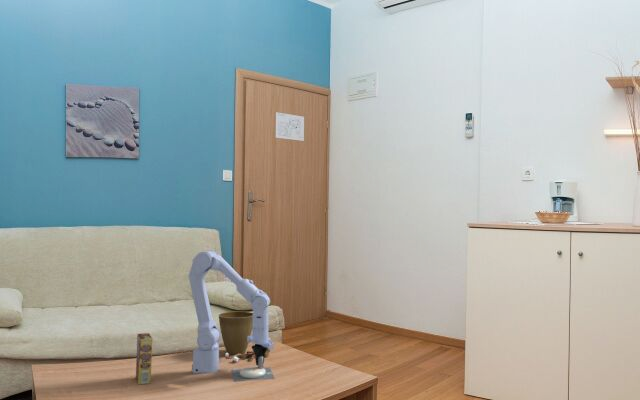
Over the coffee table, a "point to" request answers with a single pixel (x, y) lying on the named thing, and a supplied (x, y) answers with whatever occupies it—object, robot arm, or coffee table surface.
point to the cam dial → (254, 370)
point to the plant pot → (236, 330)
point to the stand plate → (238, 378)
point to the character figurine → (246, 356)
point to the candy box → (144, 358)
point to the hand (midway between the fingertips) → (260, 365)
